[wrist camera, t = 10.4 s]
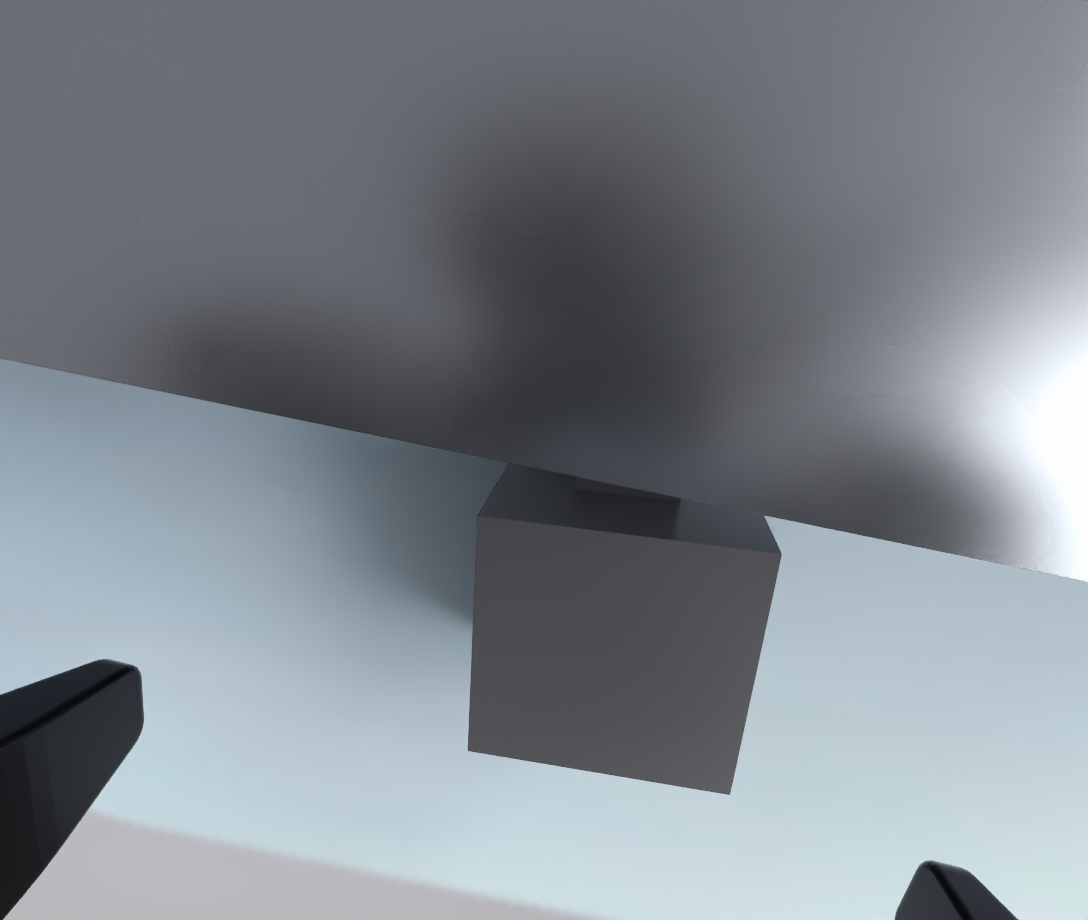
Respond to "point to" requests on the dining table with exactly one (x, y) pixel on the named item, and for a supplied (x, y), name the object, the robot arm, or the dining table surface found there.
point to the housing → (587, 239)
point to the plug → (616, 628)
